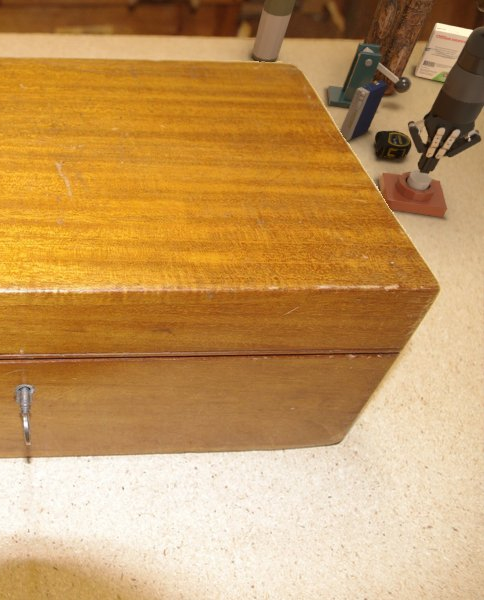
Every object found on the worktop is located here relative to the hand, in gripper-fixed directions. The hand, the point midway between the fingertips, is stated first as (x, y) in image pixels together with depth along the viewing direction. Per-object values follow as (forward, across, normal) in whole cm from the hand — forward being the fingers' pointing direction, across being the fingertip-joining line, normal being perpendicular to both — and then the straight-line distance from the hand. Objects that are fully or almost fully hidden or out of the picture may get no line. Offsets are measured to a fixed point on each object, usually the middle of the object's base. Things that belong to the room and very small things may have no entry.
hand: (423, 170), depth 135 cm
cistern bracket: (+7, +9, -35) cm, 37 cm away
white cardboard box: (+7, -12, -52) cm, 54 cm away
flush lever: (0, +5, -35) cm, 35 cm away
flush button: (+3, 0, 0) cm, 3 cm away
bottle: (+7, +29, -50) cm, 58 cm away
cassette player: (+7, +9, -20) cm, 24 cm away
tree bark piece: (+7, +2, -47) cm, 48 cm away
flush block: (+7, 0, 0) cm, 7 cm away
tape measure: (+7, +3, -15) cm, 17 cm away
